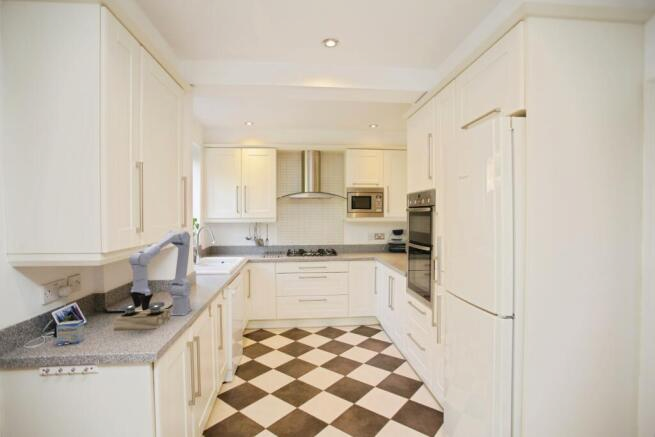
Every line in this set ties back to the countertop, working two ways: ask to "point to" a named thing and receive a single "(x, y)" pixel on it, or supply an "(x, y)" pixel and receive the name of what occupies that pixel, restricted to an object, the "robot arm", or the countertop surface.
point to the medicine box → (70, 332)
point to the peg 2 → (155, 307)
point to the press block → (141, 320)
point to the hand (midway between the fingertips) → (141, 308)
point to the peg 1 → (128, 309)
